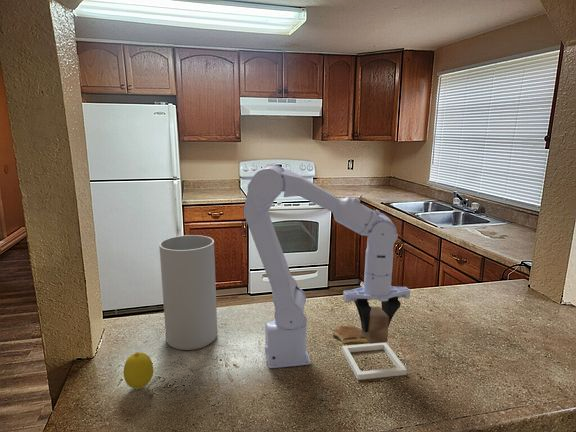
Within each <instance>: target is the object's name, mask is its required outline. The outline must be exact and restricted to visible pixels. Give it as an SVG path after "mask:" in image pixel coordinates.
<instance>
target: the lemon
mask: <svg viewBox="0 0 576 432" xmlns="http://www.w3.org/2000/svg"><path fill="white" fill-rule="evenodd" d="M153 374H154V364H153V361H152V359H151V357H150V356H149V355H148V354H146V353H144V352H140V351H139V352H138V351H136V352H135V353H132V354H131V355H129V357H128V358H126V361H125V363H124V366H123V378H124V381H125V383H126V384H127V385H128V386H129V387H130V388H133V389H139V390H140V389H142V388H144V387H146V386H147V385H149V383H150V382H151V380H152V378H153Z"/></svg>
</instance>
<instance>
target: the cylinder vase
mask: <svg viewBox="0 0 576 432" xmlns="http://www.w3.org/2000/svg"><path fill="white" fill-rule="evenodd" d="M158 247H159V257H160V258H159V259H160V271H161V272H160V273H161V275H160V276H161V288H162V301H163V315H164V326H165V327H164V329H165V340H166V342H167V344H168V345H169V346H170V347H171V348H174V349H176V350H181V351H192V350H197V349H202V348H204V347H206V346H208V345H210V344H211V343H213V342H214V340H216V338H217V336H218V316H217V315H218V314H217V290H216V289H217V288H216V287H217V286H216V264H215V263H216V262H215V260H216V259H215V240H214V239H213V238H212V237H210V236H205V235H199V234H196V235H195V234H194V235H193V234H190V235H189V234H186V235H179V236H178V235H177V236H173V237H169V238H166V239H164V240H162V241H160V242H159V245H158Z"/></svg>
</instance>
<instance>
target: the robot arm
mask: <svg viewBox="0 0 576 432" xmlns="http://www.w3.org/2000/svg"><path fill="white" fill-rule="evenodd" d="M281 193H283V198H289V197H290V198H292V197H300V198H303V199H305V200H307V201H308V202H311V203H312V204H315V205H316V206H319V207H321V208H323V209H324V210H327V211H329V212H331V213H332V214H333V219H334V221H335V222H336V223H339V224H341V225H342V226H343V227H346V228H348V229H349V230H351V231H353V232H355V233H356V234H358V235H360V236H366V237H367V238H366V239H367V241H366V249H365V257H364V258H365V260H364V274H363V275H364V279H363V286H361V287H357V288H352V289H350V290H349V289H347V290H343V292H342V293H343V295H342V299H343V301H344V302H345V303H346V304H347V303H351V302H354V304H355V307H356V309H357V312H358V314H359V319H360V325H361V329H363V331H364V332H368V327H369V315H370V311H371V307H372V306H370V303H369V301H372V300H373V301H374V300H377V301H378V302H381V303H380V304H381V309H382V310H383V311H384V312H385V313H386V314H387V315H388V317H389V324H388V328H389V327H390V325H391V321H392V319H393V317H394V315H395V313H396V312H397V311H398V310H399V309H400V307H401V301H400V300H399V299H401V298H404V299H411V296H410V295H411V289H410V288H408V287H407V286H393V285H392V278H393V266H394V265H393V264H394V244H395V243H396V242H397V240H398V237H399V234H398V232H397V230H398V229H397V227H396V225H395V224H394V223H393V221H392V219H390V217H388V216H387V215H386V214H385V213H383V212H382V213H381V212H380V210H378V209H375V210H374V209H372V208H369V207H368V206H367V205H364V204H363V203H361V199H359V198H358V197H356V196H354V197H353V198H352V197H350V196H347V197H342V198H339V197H337V196H335V195H334V194H332V193H331V192H329V191H328V190H325V189H323V188H322V187H320V186H318V185H317V184H315V183H314V182H312V181H310V180H309V179H307V178H305V177H304V176H302V175H301V174H298V173H296V172H294V171H292V170H289V169H284V167H282V166H280V165H279V164H267V165H266V166H264V167H263V168H262V169H259V170H258V171H257V172H255V174H254V175H253V176H252V178H251V180H250V181H249V183H248V185H247V192H246V198H245V202H244V208H243V216H244V218H245V221H246V223H247V226H248V230H249V231H250V234H251V237H252V239H253V242H254V246H255V247H256V250H257V252H258V255H259V257H260V260H261V263H262V265H263V268H264V271H265V274H266V275H267V276H266V277H267V279H268V281H269V284H270V287H271V293H272V303H273V305H274V319H273V320H271V321H267V322H265V325H264V327H265V328H264V329H265V330H264V331H265V333H264V334H265V336H264V337H265V344H264V353H265V355H266V360H267V361H266V362H267V367H268V368H269V369H275V368H276V369H277V368H287V367H297V366H298V367H299V366H307V365H311V364H312V361H311V359H310V357H309V354H308V350H307V333H308V331H307V328H308V327H307V326H308V324H307V323H308V319H307V317H306V315H305V314H304V313H305V305H306V303H307V296H306V294H305V291H304V290H303V289H302V288H300V286H299V285H298V283H297V280H296V279H295V278H294V277H293V275H292V273H291V270H290V268H289V265H288V262H287V259H286V257H285V254H284V251H283V249H282V246H281V243H280V240H279V237H278V236H277V233H276V229H275V227H274V224H273V222H272V218H271V216H270V214H269V212H270V209H271V208H272V206H273V204H274V202H275V200H276V199H277V198H278V197H279V196H280V195H281Z"/></svg>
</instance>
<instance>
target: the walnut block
mask: <svg viewBox="0 0 576 432" xmlns="http://www.w3.org/2000/svg"><path fill="white" fill-rule="evenodd" d="M370 307H371V311H370V315H369V327H368V332H364V331H363V329H362V328H361V329H362V333H363V335H364V336H365V338H366V339H367V341H368V342H367V343H368V344H374V343H385V342H386V343H388V339H389V337H388V336H389V335H388V334H389V327H388V324H389V317H388V315H387V314H386V313H385V312H384V311H383V310H382V306H370ZM389 325H390V324H389Z"/></svg>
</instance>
